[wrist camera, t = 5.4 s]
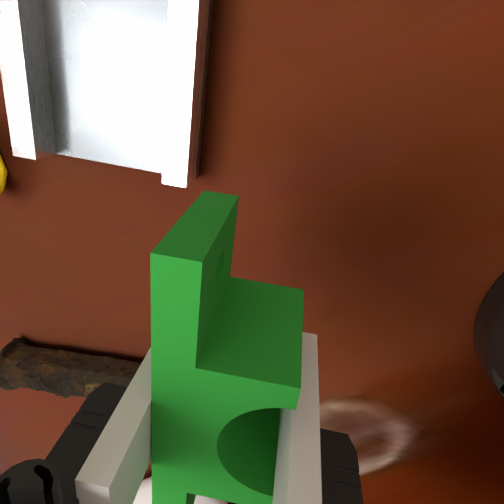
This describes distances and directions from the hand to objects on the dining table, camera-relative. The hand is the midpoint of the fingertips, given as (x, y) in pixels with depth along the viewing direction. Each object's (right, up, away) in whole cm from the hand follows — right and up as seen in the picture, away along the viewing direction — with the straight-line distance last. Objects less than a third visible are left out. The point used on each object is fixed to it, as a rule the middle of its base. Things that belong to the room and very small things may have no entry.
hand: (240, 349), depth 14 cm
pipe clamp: (0, 0, 0) cm, 1 cm away
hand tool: (-11, -6, +19) cm, 23 cm away
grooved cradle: (-8, +15, +9) cm, 19 cm away
